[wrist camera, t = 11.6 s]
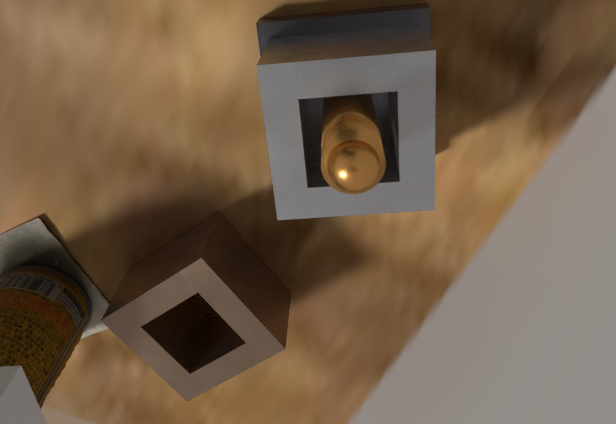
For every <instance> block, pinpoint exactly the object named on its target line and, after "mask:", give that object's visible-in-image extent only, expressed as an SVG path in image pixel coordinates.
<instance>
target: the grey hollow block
mask: <svg viewBox="0 0 616 424" xmlns="http://www.w3.org/2000/svg"><path fill="white" fill-rule="evenodd" d="M257 71H258V79H259V86H260V94H261V101H262V109H263V116H264V124H265V131H266V139H267V146H268V153H269V161H270V168H271V176H272V183H273V191H274V198H275V206H276V213H277V220H289V219H305V218H320V217H335V216H351V215H366V214H381V213H397V212H412V211H427V210H435V113H436V49H435V48H434V46H433V45H432V44H431V42H430V41H429V39H428V38H427V36H426V35H425V33H424V32H423V31H422V29H421V28H420V26H419V25H418V26H407V27H396V28H385V29H373V30H362V31H351V32H339V33H328V34H317V35H305V36H294V37H283V38H271V39H268V41H267V43H266V46H265V48H264V50H263V52H262V55H261V57H260V59H259V61H258V64H257ZM382 92H388V105H389V139H390V140H381V141H382V145H383V150H384V155H385V160H386V167H385V172H384V175H383V177H382V179H381V180H380V181H379V183H378V184H377V185H376V186H375V187H373V188H372V189H370V190H368V191H366V192H363V193H360V194H346V193H342V192H339V191H337V190H335V189H334V188H332V187H331V186H330V185H329V184H328V183H327V182H326V180H325V179H324V177H323V174H322V170H321V149H322V145H312V146H311V141H310V131H309V120H308V110H307V100H306V99H307V98H320V97H332V96H345V95H357V94H369V93H382Z"/></svg>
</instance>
